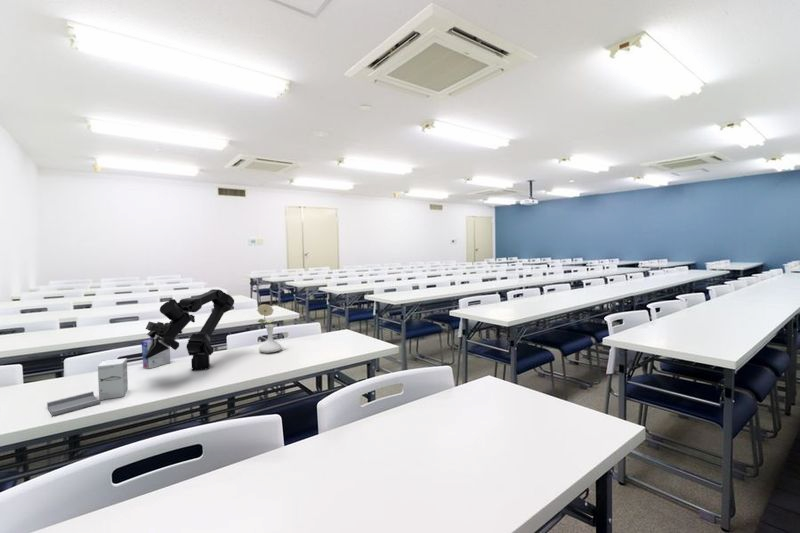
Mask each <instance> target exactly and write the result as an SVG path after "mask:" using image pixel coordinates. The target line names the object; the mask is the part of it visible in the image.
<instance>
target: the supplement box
mask: <svg viewBox="0 0 800 533" xmlns="http://www.w3.org/2000/svg"><path fill="white" fill-rule="evenodd" d="M97 378H98V399H100V401H102V400H107V399H109V400H110V399H113V398H114V399H115V398H122V397H125V395H126V393H127V392H128V388H129V387H128V386H129V385H128V384H129V382H128V380H129V378H128V358H126V357H125V358H117V359H116V358H115V359H108V360H107V359H106V360H103V361H101V362H100V363H99V365H97Z"/></svg>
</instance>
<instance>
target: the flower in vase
mask: <svg viewBox="0 0 800 533" xmlns="http://www.w3.org/2000/svg"><path fill="white" fill-rule="evenodd" d="M256 311H257V312H258V314H259V315H260V316H264V319H263V318H260V319H259V320H258V321H257V323H260V324H261V323H262V324H263V323H266V324H265V325H264V327H265V328H266V331H267V339H266V341H265V342H263V343H262V344H261V345H260V346H259V347H258V351H259V352H261V353H267V354H269V353H276V352H279V351H280V350H281V349H282V348H283V346H282V345H281V344H280V343H279V342H277V341H276V340H275V339H274V337H273V332H274V331H273V330H274V327H275V326H276V325H275V324H270V323H273V321H275V318H273V319H271V320H269V321H267V320H266V317H268V316H271V315H273V313H274V309H273V306H272V305H269V304H260V305H258V307H257V310H256Z"/></svg>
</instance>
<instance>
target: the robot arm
mask: <svg viewBox="0 0 800 533" xmlns="http://www.w3.org/2000/svg"><path fill="white" fill-rule="evenodd" d="M210 302H212V305H213V309H212V311H211V313H210V315H209V316H208V318H207V319H206V321H205V323H204V324H203V325H202V328H201V329H200V331H199V332H198V333H192V334H191V335H190V338H189V339H187V341H188V342H187V344H186V351H187V354H188V356H192V357H191V361H190V362H191V370H192V371H193V372H194V371H200V370H209V368H210V367H211V363H210V362H211V360H210V358H211V357H210V356H211V355H212V354H214V347H213V346H212V345H211V344H212V343H211V337H212V335H213V333H214V331H215V329H216V328H217V327H218V324H219V322H220V320H221V319H222V317H223V315H224V314H226V313H227V312H229V311H230V310H231V309H232V308H233V306H234V304H235V299H234V298H233V296H231V295H230V294H228V293H227V292H224V291H223V290H221V289H210V290H208V291H207V292H204V293H202V294H200V295H198V296H197V295H196V296H195V297H185V298H181V299H180V300H179V301H178V302H177V300H176V299H173V298H172V299H171V298H169V300H168V301H165V303H163V304H162V305H161V306H160V307H159V312H160V313H161V314H162V315H163V316H164V317H165V318H167V319H168V320H170V321H169V322H165V323H164V322H160V321H157V322H152V321H148V323H147V325H146V327H145V330H148V333H147V334H146V335H147V336H148V337H149V338H150V337H151V341H152V344H151V346H150V348H149V350H148V352H147V354H146V356H145V358H147V359H148V358H150V357H152V356H154V355H156V354H158V353H160V352H162V351H164V350H166V349H169V348H168V346H170V348H171V349H172V350H175V351H176V350H177V349H179V348H180V342H178V341H177V340H175V338H177V336H178V335H179V334H180V335H182V334H183V329H184V328H185V327H187V325H188V324H189V323H190V322H192V323H195V322H196V321H195V315H194V314H190V313H197V312H198V311H199V310H201V309H202V306H204V305H206V304H208V303H210Z"/></svg>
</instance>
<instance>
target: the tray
mask: <svg viewBox="0 0 800 533" xmlns="http://www.w3.org/2000/svg"><path fill="white" fill-rule="evenodd" d="M94 394H95V393H94V390H93V391H89V392H84V393H80V394H76V395H73V396H72V395H71V396H69V397H64V398H60V399H56V400H52V401H47V402H46V408H47V410H48V411H49V412H50V415H51V416H54V417H56V416H60V415H64V414H67V413H72V412H76V411H79V410H82V409H87V408H91V407H94V406H97V405H101V400H100V399H99V398H97V397H96V396H95V395H94Z"/></svg>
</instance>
